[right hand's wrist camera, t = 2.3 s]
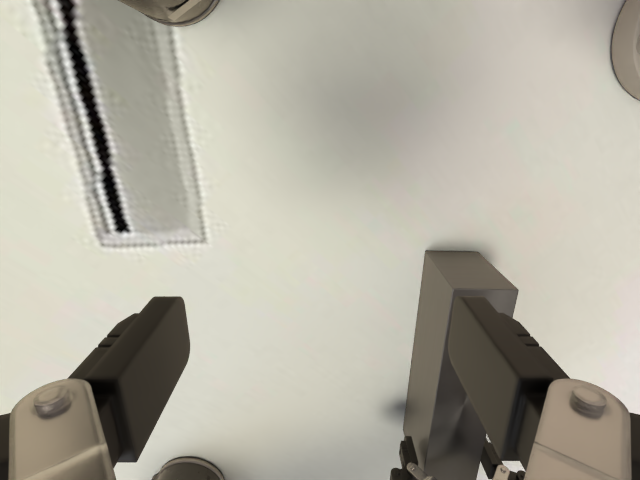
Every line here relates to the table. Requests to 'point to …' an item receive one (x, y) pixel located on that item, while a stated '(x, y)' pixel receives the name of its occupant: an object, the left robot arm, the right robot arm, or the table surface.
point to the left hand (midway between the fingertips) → (443, 441)
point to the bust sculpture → (628, 47)
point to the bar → (448, 365)
